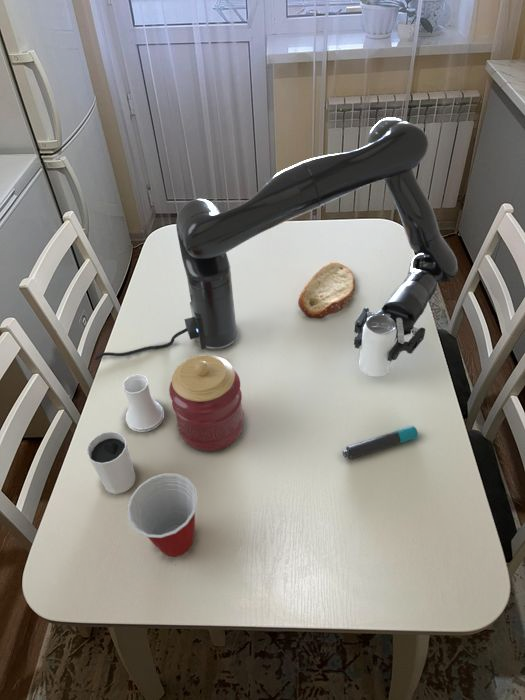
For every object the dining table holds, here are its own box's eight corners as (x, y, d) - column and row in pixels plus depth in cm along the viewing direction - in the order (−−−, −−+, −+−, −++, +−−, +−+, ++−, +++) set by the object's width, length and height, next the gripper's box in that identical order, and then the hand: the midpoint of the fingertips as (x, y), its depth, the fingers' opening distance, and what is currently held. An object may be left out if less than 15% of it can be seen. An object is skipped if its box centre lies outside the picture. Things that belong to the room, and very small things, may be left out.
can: (389, 380, 110) (397, 336, 102) (357, 376, 112) (362, 333, 103) (390, 358, 115) (398, 314, 107) (360, 354, 116) (365, 311, 108)
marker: (343, 460, 100) (347, 461, 98) (339, 447, 101) (344, 448, 98) (413, 437, 103) (419, 438, 101) (409, 425, 104) (415, 425, 101)
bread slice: (342, 264, 144) (342, 253, 142) (375, 303, 132) (377, 291, 129) (279, 281, 140) (279, 269, 138) (307, 323, 128) (308, 311, 125)
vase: (147, 437, 106) (137, 404, 99) (118, 422, 109) (106, 389, 102) (171, 411, 110) (163, 378, 103) (143, 398, 113) (133, 364, 106)
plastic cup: (144, 514, 94) (129, 475, 85) (206, 507, 94) (197, 468, 86) (139, 576, 86) (122, 539, 78) (207, 569, 86) (197, 532, 78)
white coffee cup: (106, 464, 101) (92, 431, 95) (141, 464, 101) (129, 431, 94) (97, 496, 97) (81, 463, 90) (134, 496, 96) (121, 463, 89)
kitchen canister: (253, 409, 110) (248, 345, 97) (230, 460, 101) (221, 398, 89) (195, 395, 113) (183, 332, 101) (167, 443, 104) (150, 381, 92)
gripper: (376, 281, 118) (341, 325, 108) (441, 302, 112) (410, 351, 102) (373, 308, 123) (339, 352, 113) (434, 329, 117) (404, 378, 107)
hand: (372, 351), depth 107 cm, fingers closed on can, 6 cm apart
